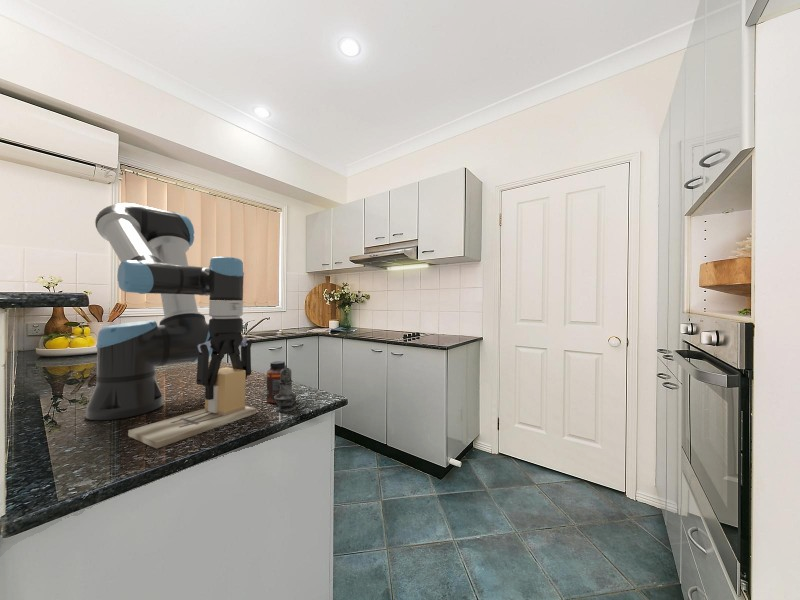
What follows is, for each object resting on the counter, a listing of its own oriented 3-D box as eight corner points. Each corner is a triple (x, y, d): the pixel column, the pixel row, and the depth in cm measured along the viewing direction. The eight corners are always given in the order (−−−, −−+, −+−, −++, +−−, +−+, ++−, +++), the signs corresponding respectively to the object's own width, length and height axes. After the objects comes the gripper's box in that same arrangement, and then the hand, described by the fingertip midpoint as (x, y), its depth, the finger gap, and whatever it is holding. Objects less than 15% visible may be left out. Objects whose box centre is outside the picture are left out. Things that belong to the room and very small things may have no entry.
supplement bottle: (291, 400, 89) (292, 362, 90) (271, 405, 85) (272, 364, 85) (282, 396, 93) (282, 359, 94) (262, 400, 89) (263, 362, 89)
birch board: (128, 435, 65) (128, 430, 65) (227, 405, 84) (227, 401, 84) (156, 448, 59) (156, 442, 59) (256, 413, 79) (256, 408, 79)
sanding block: (204, 410, 77) (205, 371, 77) (225, 404, 82) (226, 367, 82) (224, 416, 73) (224, 374, 73) (245, 409, 78) (245, 370, 78)
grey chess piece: (300, 405, 85) (301, 362, 85) (291, 413, 79) (291, 367, 79) (280, 405, 85) (280, 362, 85) (269, 412, 79) (270, 366, 79)
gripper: (196, 319, 68) (195, 423, 67) (267, 316, 84) (266, 399, 84) (178, 318, 71) (176, 417, 71) (249, 315, 88) (248, 396, 87)
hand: (225, 407), depth 77 cm, fingers closed on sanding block, 5 cm apart
